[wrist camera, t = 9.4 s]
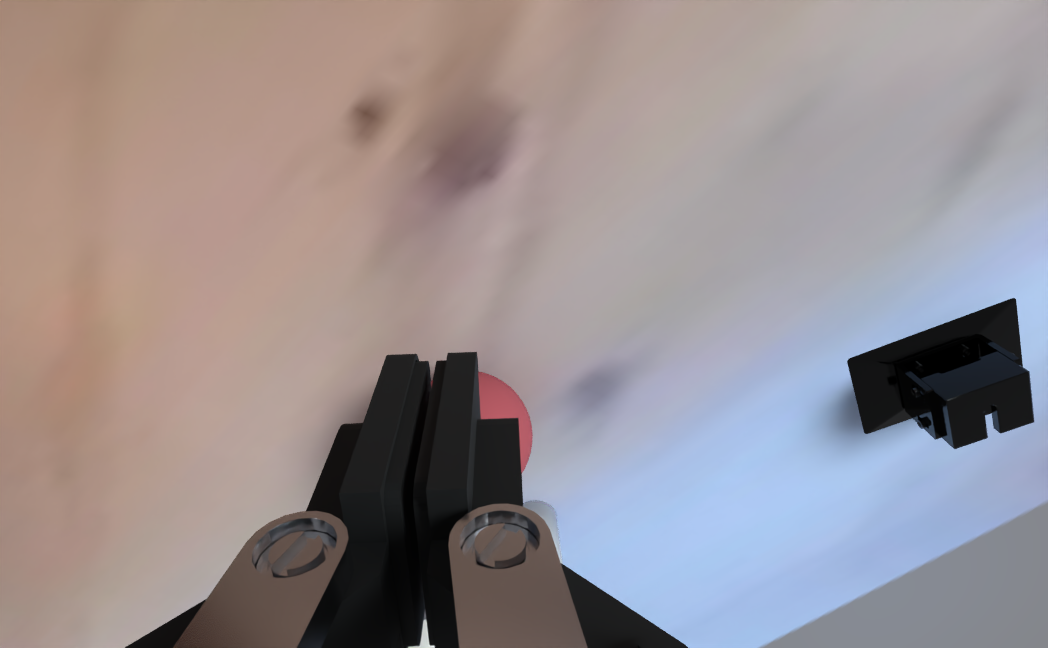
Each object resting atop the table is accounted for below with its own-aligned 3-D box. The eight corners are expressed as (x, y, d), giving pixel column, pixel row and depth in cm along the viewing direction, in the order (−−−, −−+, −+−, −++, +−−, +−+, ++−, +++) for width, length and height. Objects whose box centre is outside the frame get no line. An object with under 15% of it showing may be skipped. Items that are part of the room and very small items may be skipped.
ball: (406, 500, 31) (423, 379, 33) (528, 512, 31) (539, 389, 33) (373, 497, 26) (395, 351, 27) (522, 511, 25) (536, 363, 27)
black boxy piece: (823, 456, 35) (866, 514, 31) (793, 347, 32) (837, 394, 28) (1058, 375, 33) (1138, 424, 29) (1049, 252, 30) (1136, 286, 26)
